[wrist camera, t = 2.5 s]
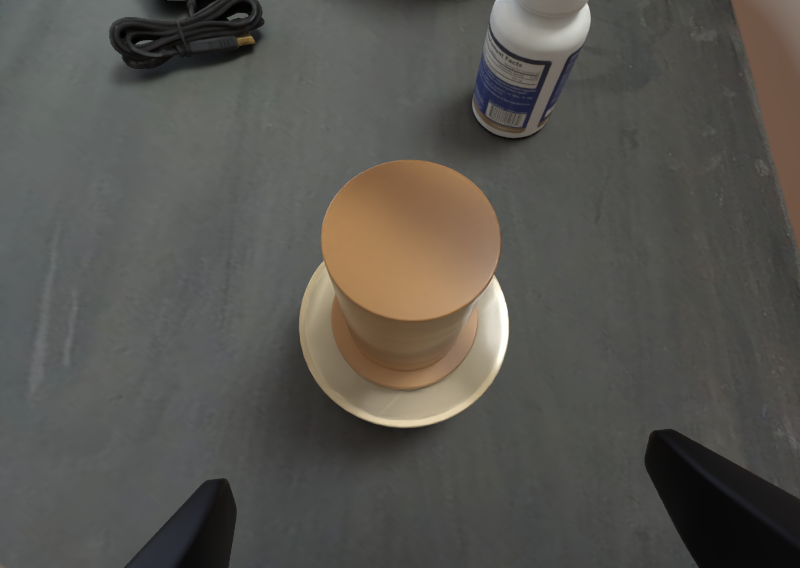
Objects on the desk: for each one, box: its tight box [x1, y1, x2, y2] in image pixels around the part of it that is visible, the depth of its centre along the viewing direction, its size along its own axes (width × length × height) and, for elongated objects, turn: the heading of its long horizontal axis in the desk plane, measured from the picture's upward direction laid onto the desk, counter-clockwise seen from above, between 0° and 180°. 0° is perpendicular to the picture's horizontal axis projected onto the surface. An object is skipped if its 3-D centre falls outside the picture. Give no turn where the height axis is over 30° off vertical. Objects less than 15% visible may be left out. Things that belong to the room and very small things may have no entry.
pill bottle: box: [472, 0, 591, 138], centre depth 26 cm, size 5×5×10 cm
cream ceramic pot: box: [299, 261, 509, 429], centre depth 22 cm, size 9×9×5 cm
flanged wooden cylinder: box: [321, 160, 501, 390], centre depth 16 cm, size 6×6×8 cm
